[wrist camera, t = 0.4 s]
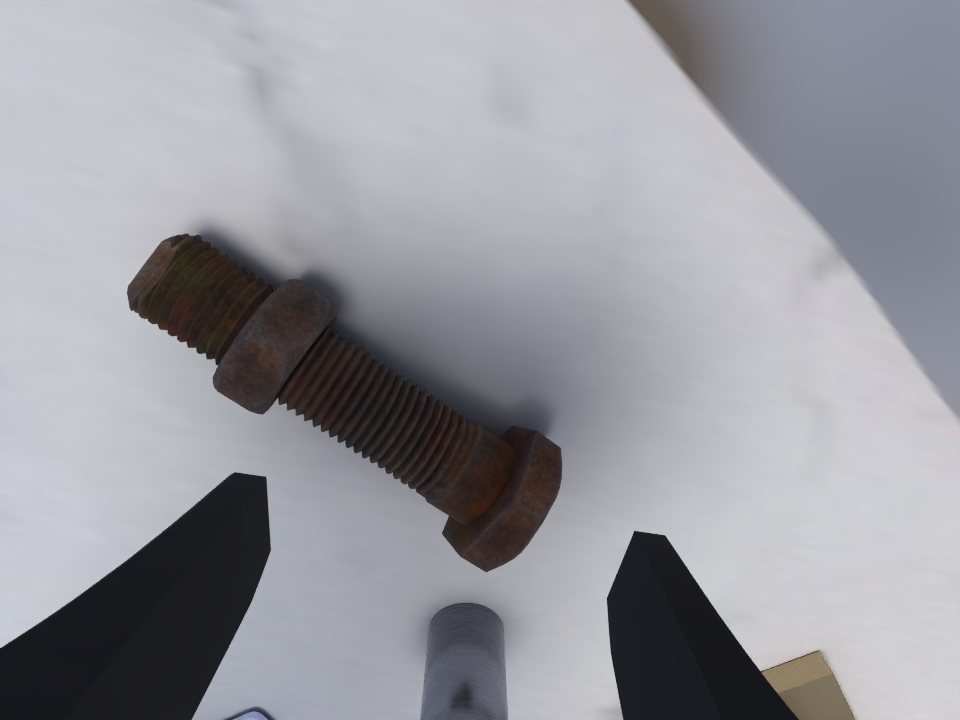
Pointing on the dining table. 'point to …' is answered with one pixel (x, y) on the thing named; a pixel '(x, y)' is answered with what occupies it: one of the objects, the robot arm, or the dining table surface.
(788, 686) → the hinge
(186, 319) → the bolt
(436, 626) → the hinge pin
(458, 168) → the dining table surface
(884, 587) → the dining table surface
